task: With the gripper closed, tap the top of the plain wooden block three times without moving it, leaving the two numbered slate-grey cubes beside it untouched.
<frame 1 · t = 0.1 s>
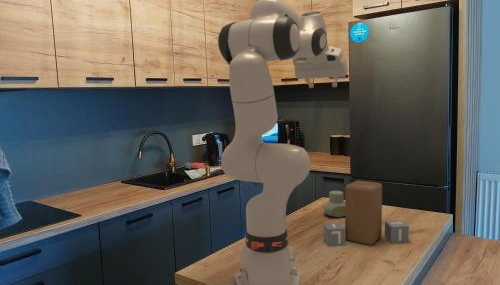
hand: (323, 86, 152), 54 cm above the table, tool tilted 30°, fingers open, 8 cm apart
air freshener: (336, 215, 163), on the table
cube seven: (334, 242, 134), on the table
wooden block: (363, 239, 136), on the table
cube one: (396, 239, 135), on the table
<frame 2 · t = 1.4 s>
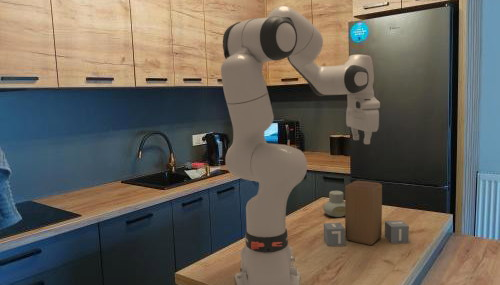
hand: (361, 141, 134), 34 cm above the table, tool pointing down, fingers open, 8 cm apart
nothing on the table moved.
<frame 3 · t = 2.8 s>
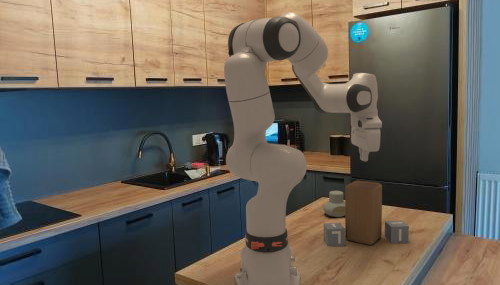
hand: (364, 160, 133), 28 cm above the table, tool pointing down, fingers closed
nothing on the table moved.
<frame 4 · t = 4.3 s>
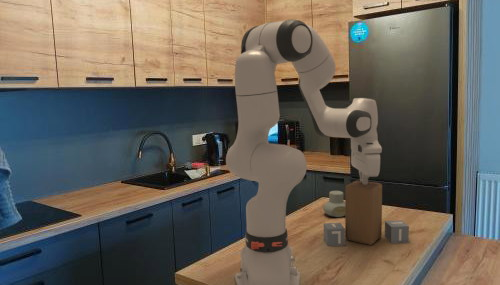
hand: (363, 183, 134), 20 cm above the table, tool pointing down, fingers closed, pressing on wooden block
wooden block: (363, 239, 136), on the table, touching gripper
everything else where it was.
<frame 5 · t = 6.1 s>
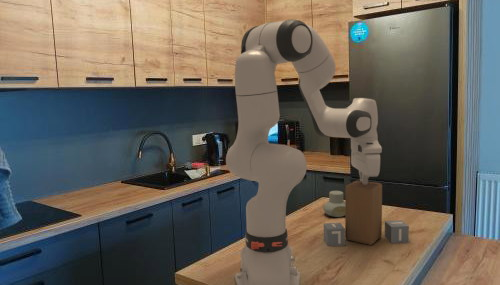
hand: (363, 183, 134), 20 cm above the table, tool pointing down, fingers closed, pressing on wooden block
wooden block: (363, 239, 136), on the table, touching gripper
everything else where it was.
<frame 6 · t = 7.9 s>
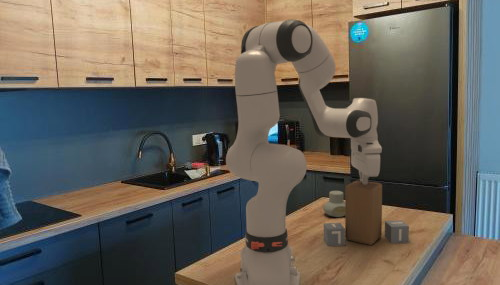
hand: (363, 183, 134), 20 cm above the table, tool pointing down, fingers closed, pressing on wooden block
wooden block: (363, 239, 136), on the table, touching gripper
everything else where it was.
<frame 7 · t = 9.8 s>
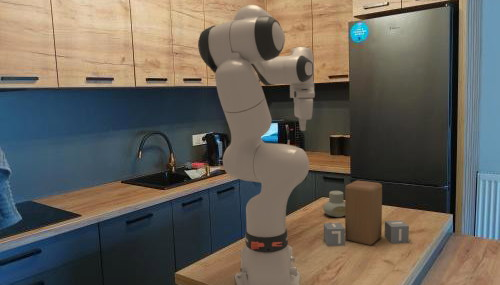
hand: (302, 130, 142), 38 cm above the table, tool pointing down, fingers closed
wooden block: (363, 239, 136), on the table
everything else where it was.
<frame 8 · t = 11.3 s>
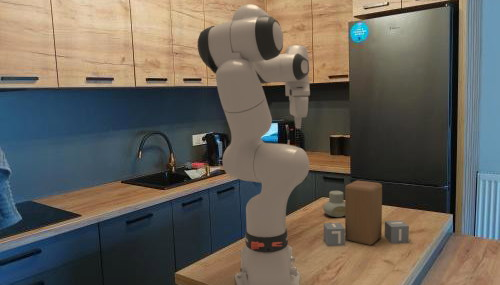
hand: (298, 128, 143), 39 cm above the table, tool pointing down, fingers closed
nothing on the table moved.
at the end: wooden block moved 0.2 cm from its start; wooden block tilted 0°; cube seven moved 0.1 cm from its start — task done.
